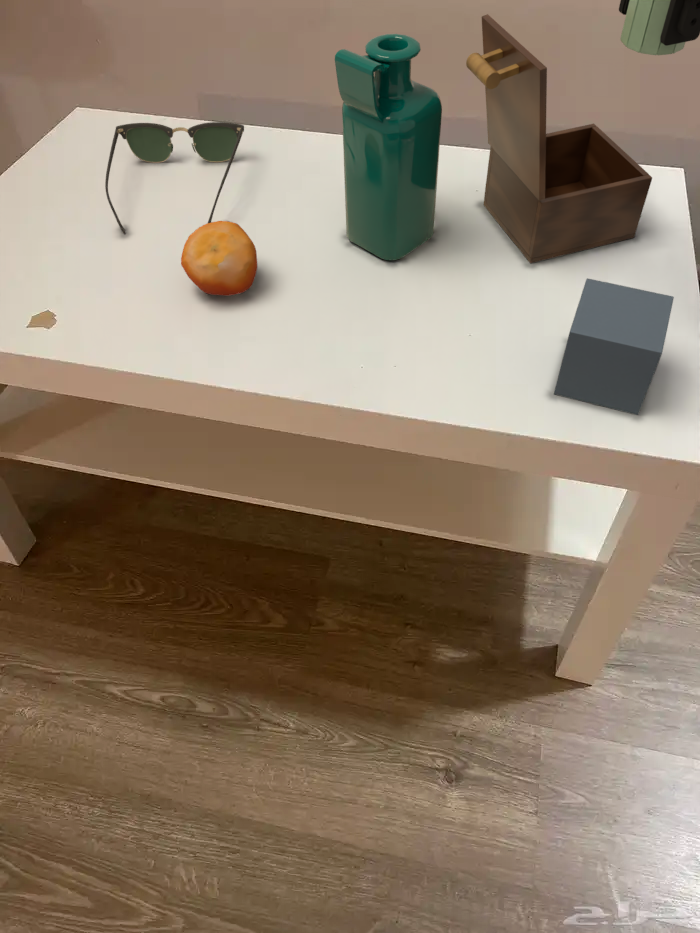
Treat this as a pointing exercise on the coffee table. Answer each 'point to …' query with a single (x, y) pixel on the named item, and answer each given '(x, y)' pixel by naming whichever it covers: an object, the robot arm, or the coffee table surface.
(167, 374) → the coffee table surface
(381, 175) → the green bottle
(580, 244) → the chest
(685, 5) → the robot arm
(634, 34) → the cup
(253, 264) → the fruit
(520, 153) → the lid
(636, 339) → the slate grey cube
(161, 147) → the sunglasses
